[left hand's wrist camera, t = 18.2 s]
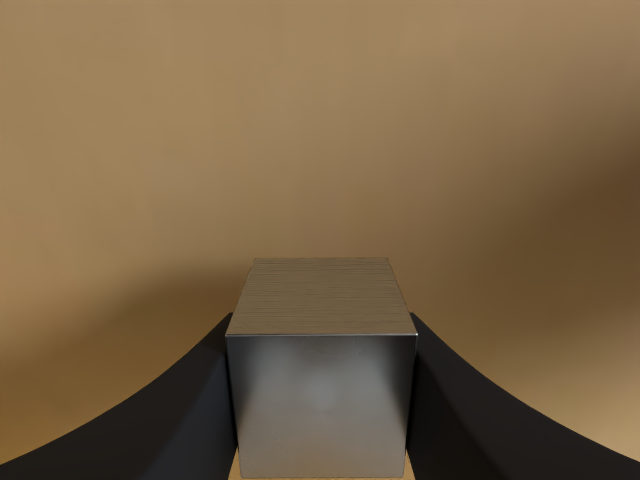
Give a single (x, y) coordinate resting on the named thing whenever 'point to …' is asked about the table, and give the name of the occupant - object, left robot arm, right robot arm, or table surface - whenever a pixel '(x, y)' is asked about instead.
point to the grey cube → (321, 369)
